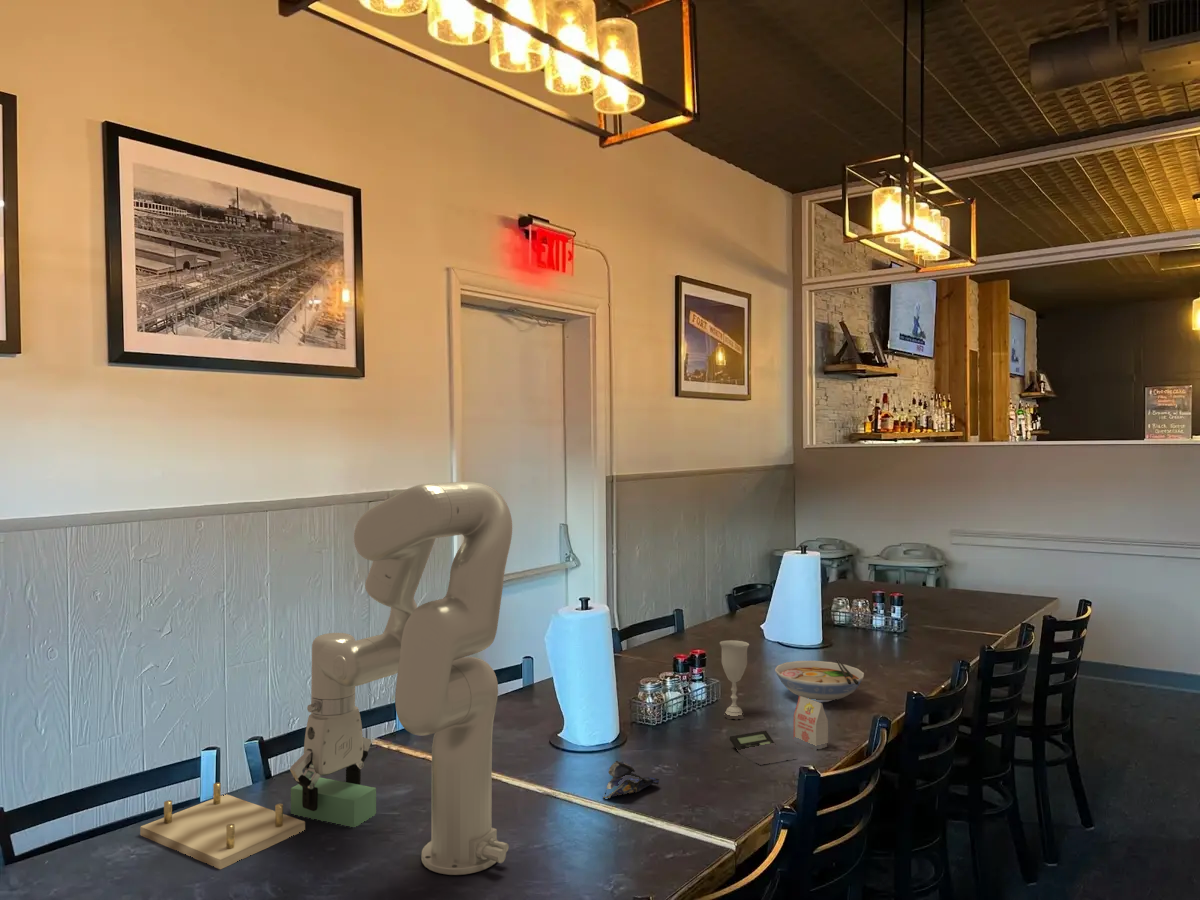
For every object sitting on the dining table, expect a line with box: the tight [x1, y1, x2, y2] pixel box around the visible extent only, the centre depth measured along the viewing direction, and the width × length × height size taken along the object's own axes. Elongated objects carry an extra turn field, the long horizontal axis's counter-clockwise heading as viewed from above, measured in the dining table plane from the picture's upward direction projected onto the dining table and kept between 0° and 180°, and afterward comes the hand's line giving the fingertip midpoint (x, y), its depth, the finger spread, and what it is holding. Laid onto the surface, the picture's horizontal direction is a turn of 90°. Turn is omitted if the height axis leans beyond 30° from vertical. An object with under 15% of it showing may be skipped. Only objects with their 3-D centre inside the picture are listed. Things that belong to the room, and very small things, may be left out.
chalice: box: [719, 639, 750, 716], centre depth 208 cm, size 7×7×18 cm
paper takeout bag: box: [793, 696, 829, 746], centre depth 189 cm, size 4×7×10 cm, turn 32°
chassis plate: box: [139, 782, 306, 870], centre depth 144 cm, size 22×16×5 cm
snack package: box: [602, 760, 660, 799], centre depth 163 cm, size 12×6×12 cm
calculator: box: [729, 730, 775, 750], centre depth 183 cm, size 9×12×3 cm
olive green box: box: [290, 776, 377, 828], centre depth 152 cm, size 14×6×5 cm, turn 67°
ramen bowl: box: [774, 659, 865, 701], centre depth 223 cm, size 25×23×8 cm
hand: (332, 799), depth 152 cm, fingers open, 9 cm apart
